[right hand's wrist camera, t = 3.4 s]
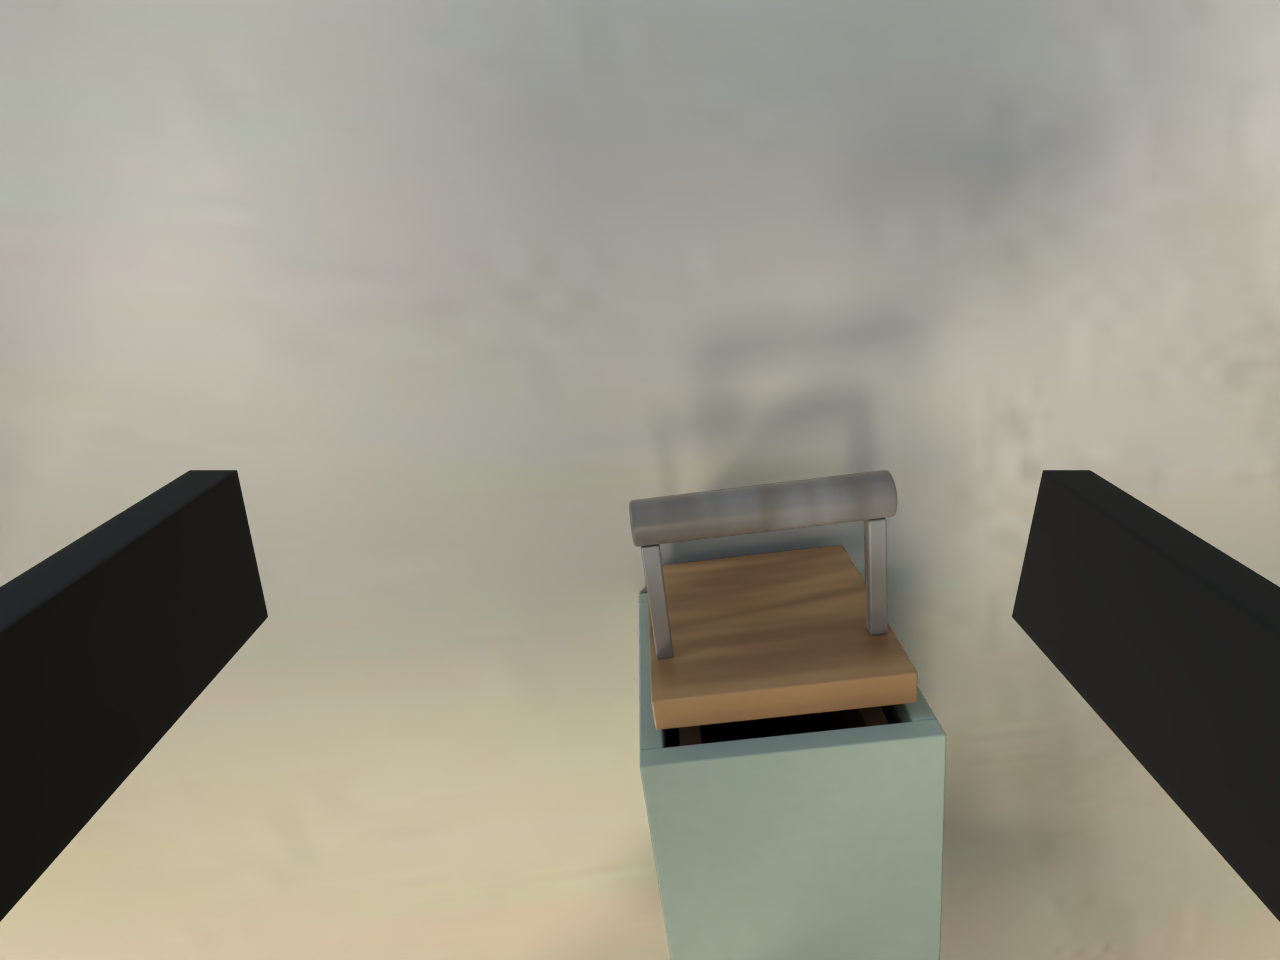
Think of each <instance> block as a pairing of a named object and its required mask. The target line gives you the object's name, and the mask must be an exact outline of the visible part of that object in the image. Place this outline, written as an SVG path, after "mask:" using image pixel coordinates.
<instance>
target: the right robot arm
mask: <svg viewBox="0 0 1280 960" xmlns="http://www.w3.org/2000/svg"><path fill="white" fill-rule="evenodd" d="M267 617H268V614H267V610H266V605H265V600H264V595H263V591H262V586H261V581H260V577H259V572H258V567H257V562H256V558H255V553H254V548H253V544H252V539H251V534H250V529H249V525H248V520H247V515H246V510H245V506H244V501H243V496H242V492H241V487H240V482H239V477H238V473H237V470H190V471H188V472H186V473H185V474H183V475H182V476H180V477H178V478H177V479H175V480H174V481H172V482H170V483H169V484H167V485H165V486H164V487H162V488H161V489H159V490H157V491H156V492H154V493H152V494H151V495H149V496H148V497H146V498H144V499H143V500H141V501H139V502H138V503H136V504H135V505H133V506H131V507H130V508H128V509H126V510H125V511H123V512H122V513H120V514H118V515H117V516H115V517H113V518H112V519H110V520H109V521H107V522H105V523H104V524H102V525H100V526H99V527H97V528H96V529H94V530H92V531H91V532H89V533H87V534H86V535H84V536H83V537H81V538H79V539H78V540H76V541H74V542H73V543H71V544H70V545H68V546H66V547H65V548H63V549H61V550H60V551H58V552H57V553H55V554H53V555H52V556H50V557H49V558H47V559H45V560H44V561H42V562H40V563H39V564H37V565H36V566H34V567H32V568H31V569H29V570H27V571H26V572H24V573H23V574H21V575H19V576H18V577H16V578H14V579H13V580H11V581H10V582H8V583H6V584H5V585H3V586H1V587H0V921H1V920H2V919H3V918H4V917H5V916H6V915H7V913H8V912H9V911H10V910H11V909H12V908H13V907H14V905H15V904H16V903H17V902H18V901H19V900H20V899H21V897H22V896H23V895H24V894H25V893H26V892H27V891H28V889H29V888H30V887H31V886H32V885H33V884H34V883H35V882H36V880H37V879H38V878H39V877H40V876H41V875H42V874H43V872H44V871H45V870H46V869H47V868H48V867H49V866H50V864H51V863H52V862H53V861H54V860H55V859H56V858H57V856H58V855H59V854H60V853H61V852H62V851H63V850H64V848H65V847H66V846H67V845H68V844H69V843H70V842H71V841H72V839H73V838H74V837H75V836H76V835H77V834H78V833H79V831H80V830H81V829H82V828H83V827H84V826H85V825H86V823H87V822H88V821H89V820H90V819H91V818H92V817H93V815H94V814H95V813H96V812H97V811H98V810H99V809H100V807H101V806H102V805H103V804H104V803H105V802H106V801H107V800H108V798H109V797H110V796H111V795H112V794H113V793H114V792H115V790H116V789H117V788H118V787H119V786H120V785H121V784H122V782H123V781H124V780H125V779H126V778H127V777H128V776H129V774H130V773H131V772H132V771H133V770H134V769H135V768H136V766H137V765H138V764H139V763H140V762H141V761H142V760H143V759H144V757H145V756H146V755H147V754H148V753H149V752H150V751H151V749H152V748H153V747H154V746H155V745H156V744H157V743H158V741H159V740H160V739H161V738H162V737H163V736H164V735H165V733H166V732H167V731H168V730H169V729H170V728H171V727H172V725H173V724H174V723H175V722H176V721H177V720H178V719H179V718H180V716H181V715H182V714H183V713H184V712H185V711H186V710H187V708H188V707H189V706H190V705H191V704H192V703H193V702H194V700H195V699H196V698H197V697H198V696H199V695H200V694H201V692H202V691H203V690H204V689H205V688H206V687H207V686H208V684H209V683H210V682H211V681H212V680H213V679H214V678H215V677H216V675H217V674H218V673H219V672H220V671H221V670H222V669H223V667H224V666H225V665H226V664H227V663H228V662H229V661H230V659H231V658H232V657H233V656H234V655H235V654H236V653H237V651H238V650H239V649H240V648H241V647H242V646H243V645H244V644H245V642H246V641H247V640H248V639H249V638H250V637H251V636H252V634H253V633H254V632H255V631H256V630H257V629H258V628H259V626H260V625H261V624H262V623H263V622H264V621H265V620H266V618H267ZM1012 617H1013V618H1014V620H1015V621H1016V622H1017V623H1018V624H1019V625H1020V626H1021V628H1022V629H1023V630H1024V631H1025V632H1026V633H1027V634H1028V636H1029V637H1030V638H1031V639H1032V640H1033V641H1034V642H1035V644H1036V645H1037V646H1038V647H1039V648H1040V649H1041V650H1042V651H1043V653H1044V654H1045V655H1046V656H1047V657H1048V658H1049V659H1050V661H1051V662H1052V663H1053V664H1054V665H1055V666H1056V667H1057V669H1058V670H1059V671H1060V672H1061V673H1062V674H1063V675H1064V677H1065V678H1066V679H1067V680H1068V681H1069V682H1070V683H1071V684H1072V686H1073V687H1074V688H1075V689H1076V690H1077V691H1078V692H1079V694H1080V695H1081V696H1082V697H1083V698H1084V699H1085V700H1086V702H1087V703H1088V704H1089V705H1090V706H1091V707H1092V708H1093V710H1094V711H1095V712H1096V713H1097V714H1098V715H1099V716H1100V718H1101V719H1102V720H1103V721H1104V722H1105V723H1106V724H1107V725H1108V727H1109V728H1110V729H1111V730H1112V731H1113V732H1114V733H1115V735H1116V736H1117V737H1118V738H1119V739H1120V740H1121V741H1122V743H1123V744H1124V745H1125V746H1126V747H1127V748H1128V749H1129V751H1130V752H1131V753H1132V754H1133V755H1134V756H1135V757H1136V759H1137V760H1138V761H1139V762H1140V763H1141V764H1142V765H1143V766H1144V768H1145V769H1146V770H1147V771H1148V772H1149V773H1150V774H1151V776H1152V777H1153V778H1154V779H1155V780H1156V781H1157V782H1158V784H1159V785H1160V786H1161V787H1162V788H1163V789H1164V790H1165V792H1166V793H1167V794H1168V795H1169V796H1170V797H1171V798H1172V800H1173V801H1174V802H1175V803H1176V804H1177V805H1178V806H1179V807H1180V809H1181V810H1182V811H1183V812H1184V813H1185V814H1186V815H1187V817H1188V818H1189V819H1190V820H1191V821H1192V822H1193V823H1194V825H1195V826H1196V827H1197V828H1198V829H1199V830H1200V831H1201V833H1202V834H1203V835H1204V836H1205V837H1206V838H1207V839H1208V841H1209V842H1210V843H1211V844H1212V845H1213V846H1214V847H1215V848H1216V850H1217V851H1218V852H1219V853H1220V854H1221V855H1222V856H1223V858H1224V859H1225V860H1226V861H1227V862H1228V863H1229V864H1230V866H1231V867H1232V868H1233V869H1234V870H1235V871H1236V872H1237V874H1238V875H1239V876H1240V877H1241V878H1242V879H1243V880H1244V882H1245V883H1246V884H1247V885H1248V886H1249V887H1250V888H1251V889H1252V891H1253V892H1254V893H1255V894H1256V895H1257V896H1258V897H1259V899H1260V900H1261V901H1262V902H1263V903H1264V904H1265V905H1266V907H1267V908H1268V909H1269V910H1270V911H1271V912H1272V913H1273V915H1274V916H1275V917H1276V918H1277V919H1278V920H1279V921H1280V587H1279V586H1277V585H1275V584H1274V583H1272V582H1270V581H1269V580H1267V579H1266V578H1264V577H1262V576H1261V575H1259V574H1257V573H1256V572H1254V571H1253V570H1251V569H1249V568H1248V567H1246V566H1244V565H1243V564H1241V563H1240V562H1238V561H1236V560H1235V559H1233V558H1231V557H1230V556H1228V555H1227V554H1225V553H1223V552H1222V551H1220V550H1218V549H1217V548H1215V547H1214V546H1212V545H1210V544H1209V543H1207V542H1206V541H1204V540H1202V539H1201V538H1199V537H1197V536H1196V535H1194V534H1193V533H1191V532H1189V531H1188V530H1186V529H1184V528H1183V527H1181V526H1180V525H1178V524H1176V523H1175V522H1173V521H1171V520H1170V519H1168V518H1167V517H1165V516H1163V515H1162V514H1160V513H1158V512H1157V511H1155V510H1154V509H1152V508H1150V507H1149V506H1147V505H1145V504H1144V503H1142V502H1141V501H1139V500H1137V499H1136V498H1134V497H1132V496H1131V495H1129V494H1128V493H1126V492H1124V491H1123V490H1121V489H1119V488H1118V487H1116V486H1115V485H1113V484H1111V483H1110V482H1108V481H1106V480H1105V479H1103V478H1102V477H1100V476H1098V475H1097V474H1095V473H1094V472H1092V471H1090V470H1043V473H1042V477H1041V482H1040V487H1039V492H1038V496H1037V501H1036V506H1035V510H1034V515H1033V520H1032V525H1031V529H1030V534H1029V539H1028V544H1027V548H1026V553H1025V558H1024V562H1023V567H1022V572H1021V577H1020V581H1019V586H1018V591H1017V595H1016V600H1015V605H1014V610H1013V614H1012Z"/></svg>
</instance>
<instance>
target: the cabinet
mask: <svg viewBox="0 0 1280 960" xmlns="http://www.w3.org/2000/svg"><path fill="white" fill-rule="evenodd" d="M639 691H640V771H641V777H642V783H643V789H644V796H645V802H646V808H647V814H648V820H649V827H650V833H651V839H652V845H653V851H654V858H655V864H656V870H657V876H658V883H659V889H660V895H661V901H662V907H663V914H664V920H665V926H666V932H667V938H668V945H669V951H670V957H671V960H940V930H941V894H942V859H943V823H944V788H945V752H946V734H945V733H944V731H943V729H942V727H941V726H940V724H939V722H938V720H936V717H935V716H934V714H933V712H932V710H931V709H930V707H929V705H928V703H927V702H926V700H925V698H924V696H923V695H922V693H921V691H920V689H919V688H918V686H917V702H915V703H906V704H897V705H887V706H881V708H882V710H883V712H884V714H885V716H886V719H887V721H888V723H889V724H887V725H877V726H868V727H858V728H848V729H839V730H829V731H820V732H810V733H801V734H791V735H782V736H772V737H763V738H753V739H744V740H734V741H725V742H715V743H706V744H696V745H687V746H680V745H679V732H678V728H670V729H661V730H656V729H655V725H654V718H653V711H652V704H651V680H650V646H649V611H648V594H647V593H641V594H639Z"/></svg>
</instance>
